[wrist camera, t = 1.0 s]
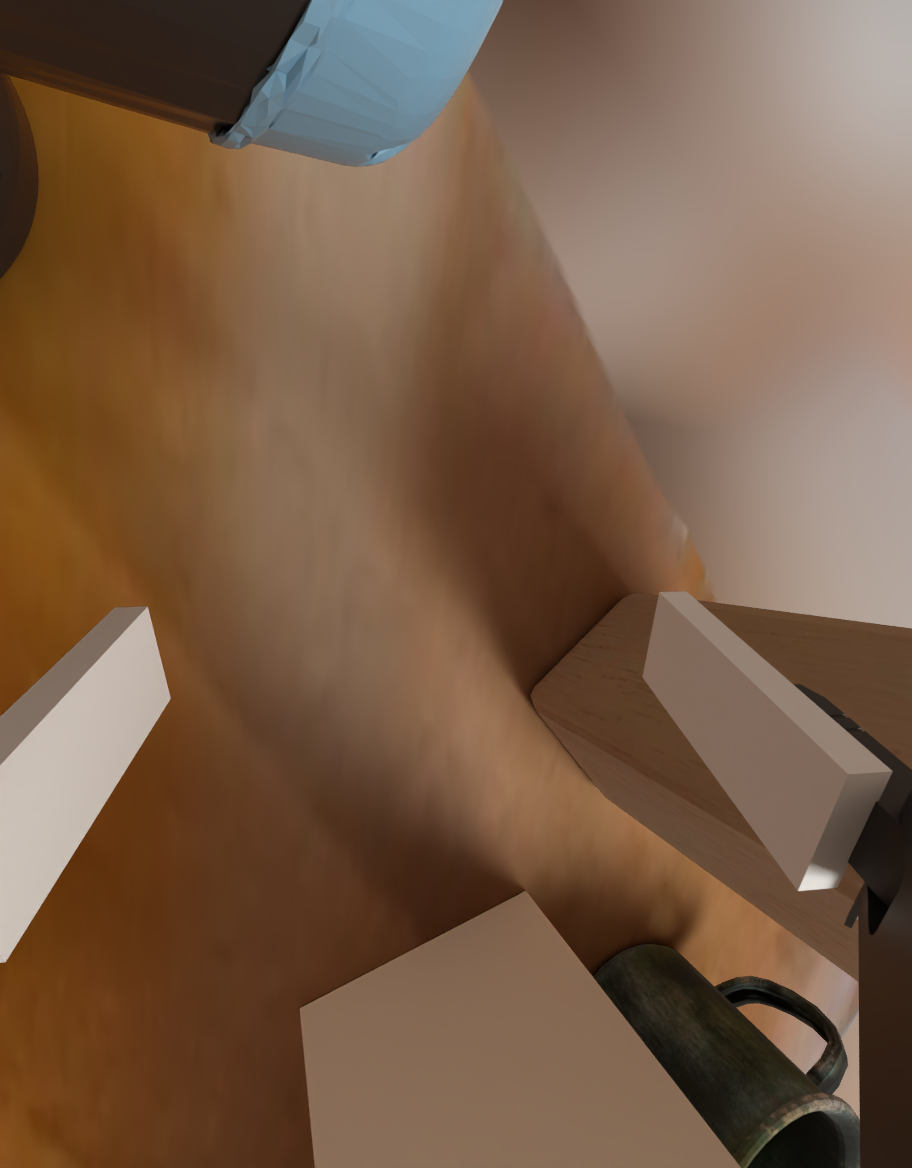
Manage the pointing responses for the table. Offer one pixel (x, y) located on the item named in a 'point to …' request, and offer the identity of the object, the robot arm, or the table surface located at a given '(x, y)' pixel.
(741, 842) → the block
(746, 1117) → the mug
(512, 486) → the table surface
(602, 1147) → the stand
